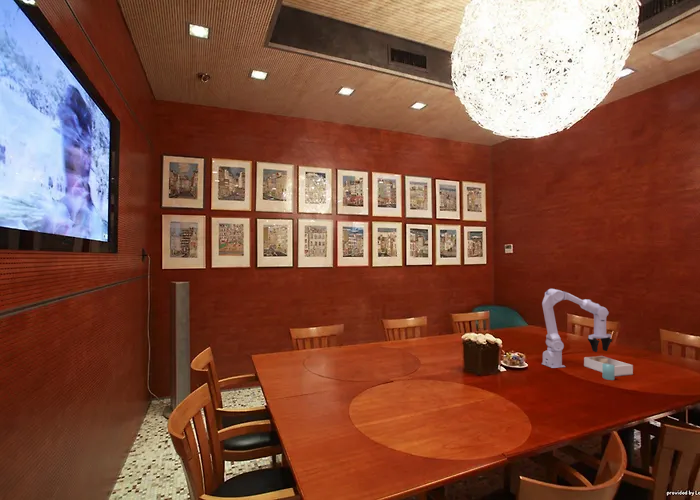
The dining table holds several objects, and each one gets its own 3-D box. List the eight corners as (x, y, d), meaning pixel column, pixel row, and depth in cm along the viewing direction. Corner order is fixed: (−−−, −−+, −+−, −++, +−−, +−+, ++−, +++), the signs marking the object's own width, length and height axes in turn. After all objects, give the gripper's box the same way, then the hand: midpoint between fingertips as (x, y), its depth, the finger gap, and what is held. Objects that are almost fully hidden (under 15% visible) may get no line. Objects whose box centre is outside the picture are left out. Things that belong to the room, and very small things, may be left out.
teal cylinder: (609, 380, 176) (609, 366, 176) (600, 377, 181) (600, 363, 181) (616, 379, 177) (616, 366, 178) (607, 376, 182) (607, 363, 182)
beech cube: (592, 365, 198) (592, 356, 198) (599, 364, 199) (599, 356, 199) (600, 368, 193) (600, 359, 193) (607, 367, 194) (607, 358, 195)
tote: (613, 376, 182) (613, 366, 182) (584, 366, 199) (584, 357, 199) (632, 374, 185) (632, 365, 185) (602, 364, 202) (602, 355, 202)
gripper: (596, 329, 190) (596, 354, 190) (616, 328, 194) (616, 352, 194) (585, 326, 197) (585, 350, 197) (604, 325, 201) (604, 348, 201)
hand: (599, 351), depth 196 cm, fingers open, 7 cm apart
